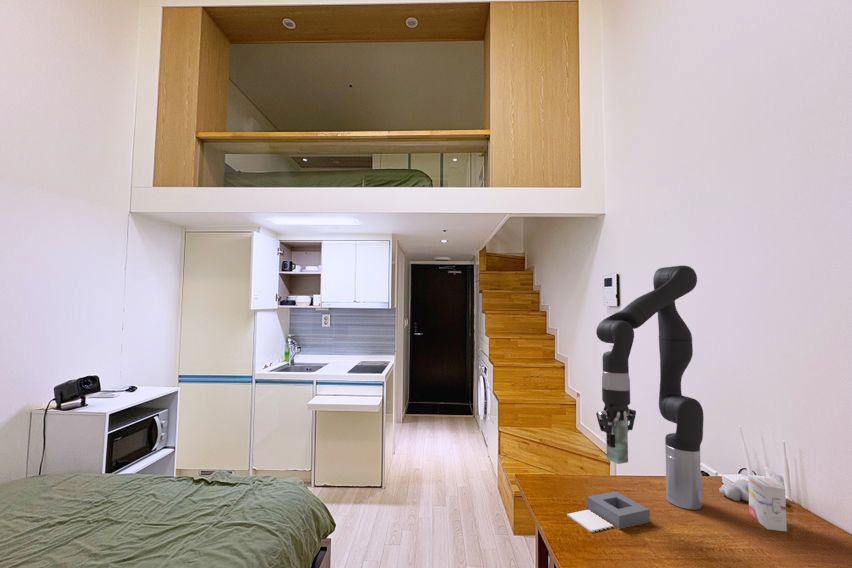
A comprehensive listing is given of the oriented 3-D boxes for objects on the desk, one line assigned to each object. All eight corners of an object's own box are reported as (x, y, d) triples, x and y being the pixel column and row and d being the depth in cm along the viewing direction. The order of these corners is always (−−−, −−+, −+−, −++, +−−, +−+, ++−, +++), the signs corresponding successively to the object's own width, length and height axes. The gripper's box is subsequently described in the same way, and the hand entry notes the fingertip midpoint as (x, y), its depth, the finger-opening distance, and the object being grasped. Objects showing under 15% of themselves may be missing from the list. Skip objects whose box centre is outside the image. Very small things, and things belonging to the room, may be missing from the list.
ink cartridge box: (747, 514, 114) (746, 463, 115) (767, 516, 113) (765, 465, 114) (767, 529, 106) (765, 475, 107) (788, 532, 105) (785, 477, 106)
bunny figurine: (711, 479, 130) (753, 474, 130) (713, 494, 129) (755, 489, 130) (735, 492, 120) (780, 486, 121) (738, 509, 120) (782, 503, 121)
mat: (588, 511, 113) (588, 509, 113) (613, 527, 105) (613, 525, 105) (567, 515, 110) (567, 513, 110) (591, 532, 102) (591, 530, 102)
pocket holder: (615, 502, 119) (615, 491, 119) (649, 522, 108) (649, 509, 108) (586, 508, 114) (586, 496, 115) (619, 529, 104) (619, 516, 104)
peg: (616, 457, 115) (615, 416, 116) (628, 462, 111) (627, 420, 112) (606, 459, 114) (606, 417, 114) (617, 464, 110) (617, 421, 111)
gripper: (622, 383, 120) (623, 439, 119) (587, 386, 115) (588, 444, 114) (644, 388, 113) (645, 447, 112) (608, 391, 108) (609, 453, 107)
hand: (616, 445), depth 113 cm, fingers closed on peg, 4 cm apart
